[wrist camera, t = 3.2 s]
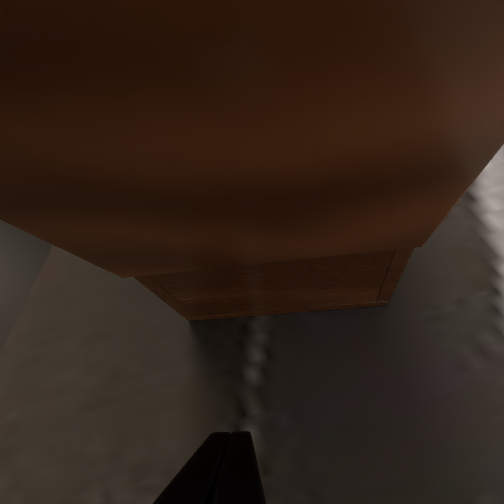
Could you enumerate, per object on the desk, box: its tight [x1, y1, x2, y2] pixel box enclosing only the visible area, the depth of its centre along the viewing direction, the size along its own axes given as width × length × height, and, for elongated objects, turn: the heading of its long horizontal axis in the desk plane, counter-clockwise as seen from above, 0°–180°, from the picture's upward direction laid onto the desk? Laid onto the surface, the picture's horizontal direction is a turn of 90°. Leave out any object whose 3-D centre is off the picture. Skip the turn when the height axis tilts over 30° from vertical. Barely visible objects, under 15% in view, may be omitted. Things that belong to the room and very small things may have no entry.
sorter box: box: [134, 248, 414, 321], centre depth 21 cm, size 12×13×8 cm
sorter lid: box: [0, 0, 504, 278], centre depth 9 cm, size 12×13×1 cm
